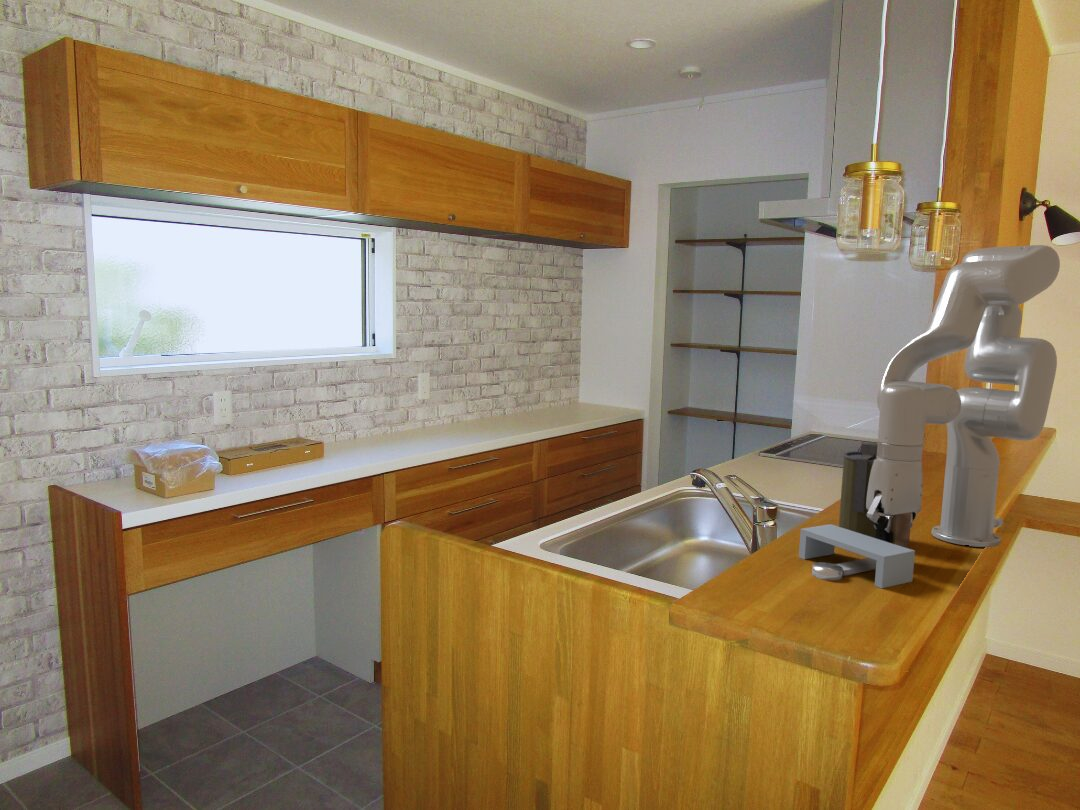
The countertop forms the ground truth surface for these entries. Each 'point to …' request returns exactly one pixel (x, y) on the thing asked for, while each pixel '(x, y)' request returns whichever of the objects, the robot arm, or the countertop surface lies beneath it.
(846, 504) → the canister
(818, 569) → the token
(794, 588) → the countertop surface
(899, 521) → the pusher
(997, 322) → the robot arm
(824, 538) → the shelf
